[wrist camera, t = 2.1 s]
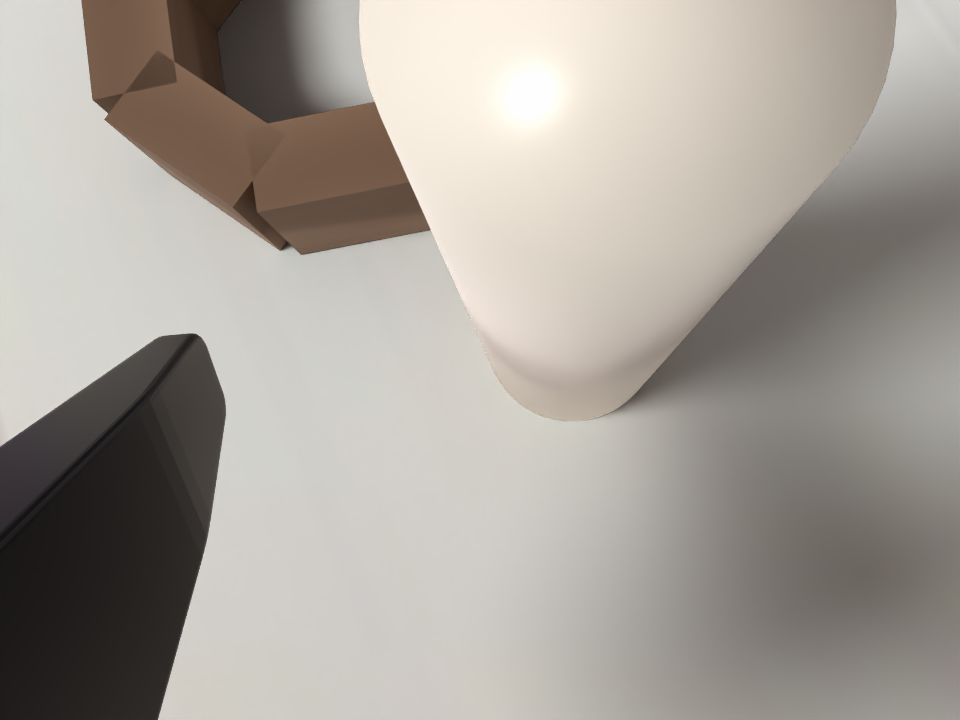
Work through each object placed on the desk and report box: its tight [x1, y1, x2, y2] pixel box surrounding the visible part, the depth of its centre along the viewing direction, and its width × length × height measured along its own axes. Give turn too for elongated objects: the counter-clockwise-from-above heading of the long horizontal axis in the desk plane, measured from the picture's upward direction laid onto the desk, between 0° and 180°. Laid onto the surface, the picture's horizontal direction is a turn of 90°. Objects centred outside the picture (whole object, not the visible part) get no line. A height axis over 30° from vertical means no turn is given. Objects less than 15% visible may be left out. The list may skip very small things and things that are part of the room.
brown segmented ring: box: [82, 0, 431, 255], centre depth 19 cm, size 9×9×3 cm
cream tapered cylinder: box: [359, 0, 896, 421], centre depth 12 cm, size 4×4×13 cm
